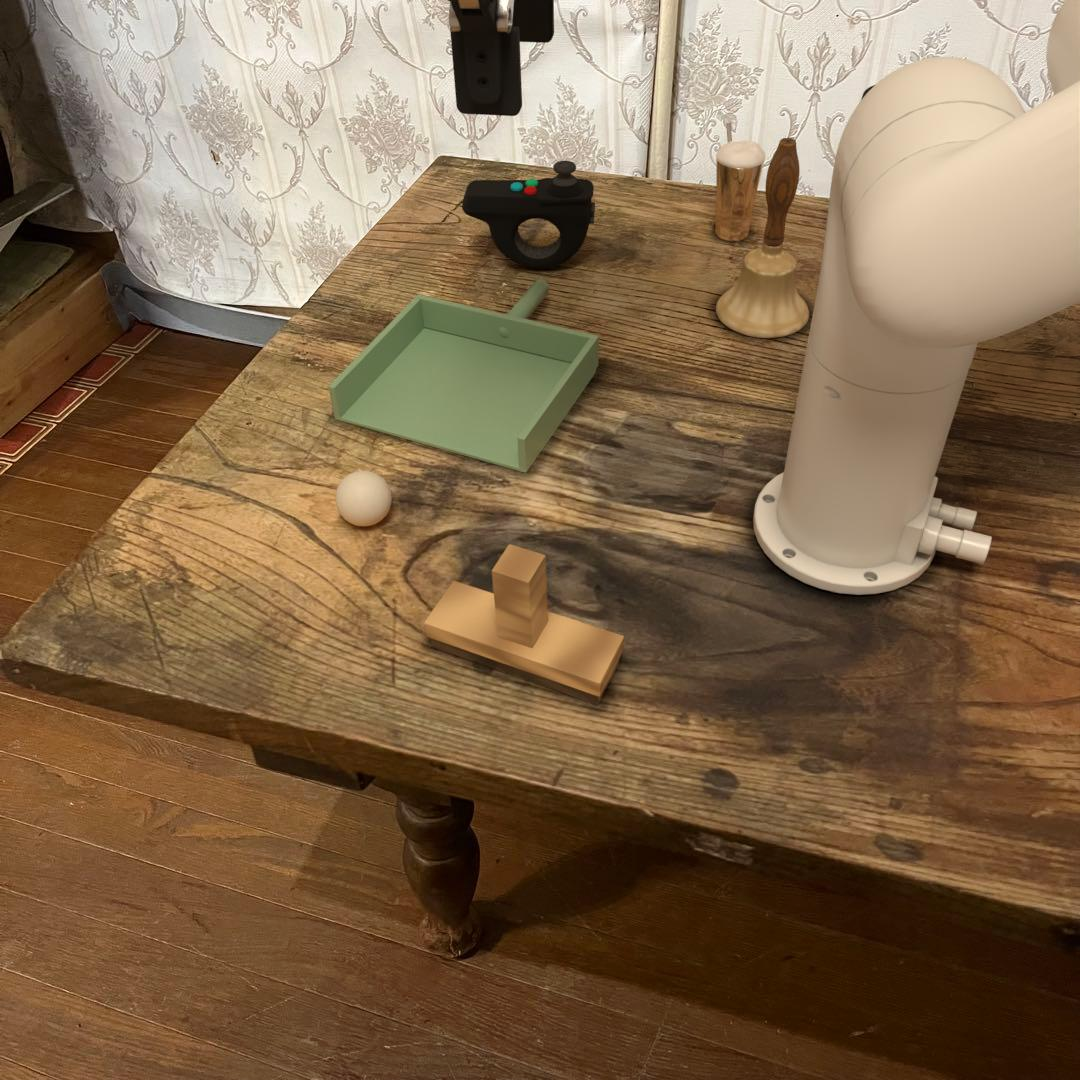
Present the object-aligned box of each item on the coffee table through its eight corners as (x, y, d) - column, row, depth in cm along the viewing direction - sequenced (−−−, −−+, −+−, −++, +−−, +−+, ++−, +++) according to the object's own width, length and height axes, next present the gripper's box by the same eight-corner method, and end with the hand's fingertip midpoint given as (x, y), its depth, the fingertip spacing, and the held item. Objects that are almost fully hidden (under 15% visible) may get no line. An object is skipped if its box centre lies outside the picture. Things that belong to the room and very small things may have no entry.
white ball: (405, 508, 76) (398, 467, 74) (377, 543, 74) (368, 503, 71) (358, 494, 78) (350, 453, 75) (329, 528, 75) (319, 487, 72)
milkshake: (738, 215, 106) (750, 118, 99) (762, 240, 102) (776, 141, 95) (698, 223, 105) (706, 126, 98) (720, 248, 101) (731, 149, 94)
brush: (623, 661, 66) (627, 568, 60) (599, 709, 63) (601, 617, 57) (456, 605, 69) (444, 513, 63) (427, 648, 67) (412, 556, 61)
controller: (593, 276, 98) (594, 176, 91) (465, 274, 99) (456, 175, 92) (595, 253, 101) (596, 154, 94) (470, 251, 102) (462, 153, 95)
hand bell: (828, 317, 92) (863, 143, 81) (759, 350, 89) (785, 172, 78) (764, 278, 97) (788, 108, 86) (696, 307, 94) (712, 135, 83)
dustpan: (526, 473, 79) (524, 439, 76) (334, 419, 84) (327, 386, 82) (631, 320, 93) (632, 288, 91) (462, 283, 98) (459, 251, 96)
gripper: (543, -330, 36) (552, 150, 48) (606, -374, 48) (600, 19, 60) (336, -327, 37) (396, 142, 49) (448, -371, 49) (474, 14, 61)
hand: (508, 74), depth 55 cm, fingers open, 9 cm apart
